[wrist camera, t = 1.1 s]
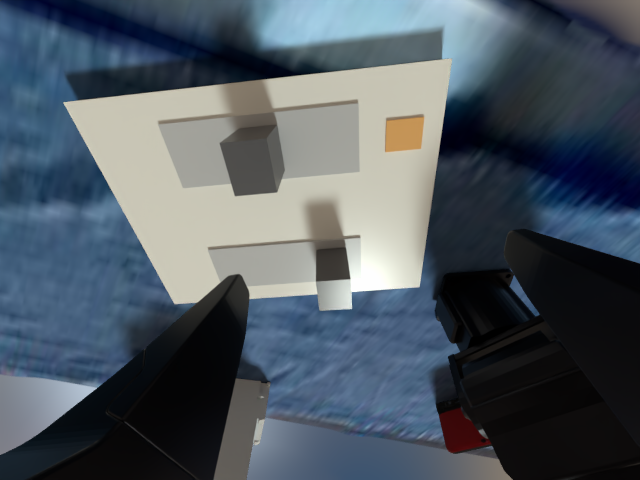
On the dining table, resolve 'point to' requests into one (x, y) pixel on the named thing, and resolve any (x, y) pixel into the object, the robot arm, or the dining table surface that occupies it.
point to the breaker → (333, 279)
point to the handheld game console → (459, 429)
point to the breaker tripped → (254, 160)
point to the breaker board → (297, 182)
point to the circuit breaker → (242, 428)
